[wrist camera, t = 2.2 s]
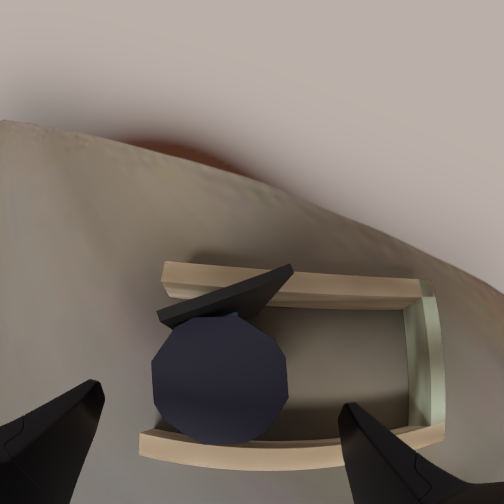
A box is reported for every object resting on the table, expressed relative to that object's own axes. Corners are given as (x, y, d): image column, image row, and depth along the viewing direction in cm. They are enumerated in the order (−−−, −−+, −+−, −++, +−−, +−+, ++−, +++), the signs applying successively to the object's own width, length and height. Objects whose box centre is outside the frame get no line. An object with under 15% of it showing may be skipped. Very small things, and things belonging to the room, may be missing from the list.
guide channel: (421, 438, 15) (444, 439, 12) (152, 447, 14) (138, 454, 12) (413, 293, 21) (432, 279, 19) (173, 279, 21) (164, 261, 18)
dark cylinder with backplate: (178, 309, 20) (143, 251, 10) (256, 310, 20) (292, 253, 11) (178, 412, 16) (140, 452, 7) (261, 411, 17) (305, 451, 8)
